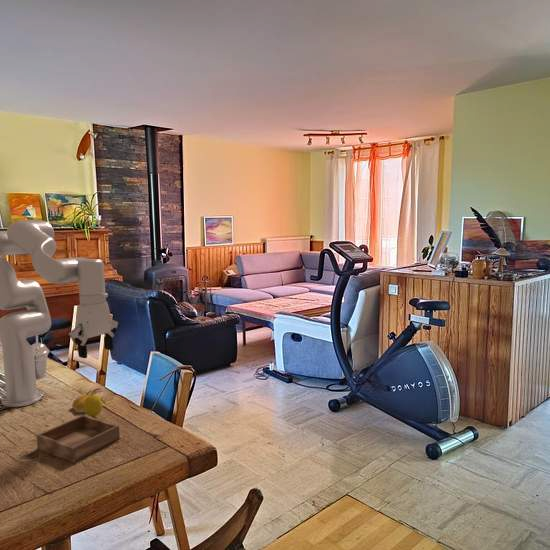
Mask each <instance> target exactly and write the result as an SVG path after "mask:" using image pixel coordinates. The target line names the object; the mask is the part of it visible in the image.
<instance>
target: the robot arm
mask: <svg viewBox="0 0 550 550" xmlns="http://www.w3.org/2000/svg"><path fill="white" fill-rule="evenodd" d="M56 250H57V243H56V240H55V230H54V228H53V226H52V225H51V224H50V222H48V221H46V220H42V219H41V220H40V219H39V220H37V219H35V220H33V219H31V220H29V219H28V220H18V221H15V222H12V223H11V224H10V225H9V226H8V227H7V229H6V230H0V310H2V311H10V310H15V309H20V308H21V309H22V308H26V310H22V311H21V310H20V311H15V312H11V313H8V314H5V315H3V316H2V317H0V345H1V350H2V351H1V352H2V358H3V371H4V383H5V385H4V386H5V388H4V387H3V389H2V391H3V392H4V393H5V397H3V398H2V399H1V405H2V406H4V407H7V408H19V407H24V406H29V405H32V404H35V403H37V402H39V401H40V400H41V399H42V398H43V394H42V392H40V391H37V378H36V375H35V361H34V351H33V348H32V346H31V345H32V344H30V343H29V341H28V340H27V339H29V338H31V337H36V335H38V336H39V335H42V334H45V333H48V331H50V329H51V327H52V319H51V318H52V317H51V314H50V310H49V308H48V304H47V300H46V297H45V296H46V295H45V294H44V291H43V288H42V286H41V285H40V283H38V282H37V281H36V280H33V279H23V280H19V279H18V277H17V274H16V270H15V268H14V267H13V265H12V264H11V263H10V262H9V261H8V260H7V259H5V258H4V256H14V255H15V256H16V255H26V254H27V255H29V256H30V257H31V263H32V267H33V269H34V271H35V272H36V273H37V275H38V276H40V277H41V278H42V279H44V280H45V281H47V282H48V283H50V284H54V285H62V284H68V283H76V282H77V283H78V294H79V295H78V296H79V297H78V298H79V304H78V305H77V307H76V314H75V328H72V330H70V331H69V332H68V336H69V337H70V340H71V341H72V342H73V343H74V344H75V345H77V355H78V357H79V358H81V359H87V358H88V348H87V346H88V345H86V343H87V341H88V339H90V338H91V339H92V338H93V337H94V338H95V337H98V336H102V335H104V338H103V341H104V350H107V351H113V350H114V343H113V341H114V340H113V338H115V334H116V333H117V328H118V326H119V325H118V324H119V322H118V321H117V320H115V319H112V318H111V311H110V307H109V304H108V301H107V298H108V297H109V294H108V292H106V282H105V281H106V279H105V265H104V264H105V263H104V261H103V260H102V259H99V258H87V257H83V256H79V257H68V258H67V257H66V258H58V259H56V258H53V256H54V255H55V253H56Z"/></svg>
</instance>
